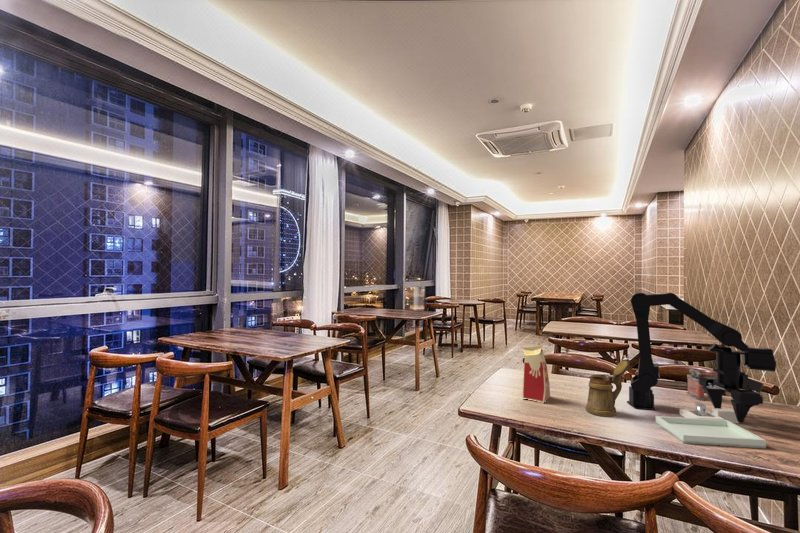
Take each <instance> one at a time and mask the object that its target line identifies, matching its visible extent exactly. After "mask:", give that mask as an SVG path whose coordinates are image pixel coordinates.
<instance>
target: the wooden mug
mask: <svg viewBox="0 0 800 533" xmlns="http://www.w3.org/2000/svg"><path fill="white" fill-rule="evenodd" d="M630 363H631V362H630V359H629V358H627V359H623V360H621V361H620V362H618V363H617V364H616V366H615V368H614V369H613V374H612V375H609V376H608V377H605V376H600V375H596V376H595V375H592V376H590V379H589V382H588V385H587V386H589V388H588V393H587V394H588V395H587V401H586V404H585V411H586V412H588V413H589V414H592V415H595V416H597V417H604V418H605V417H606V418H609V417H610V418H611V417H612V418H613V417H614V416H616V415H617V408H616V405H615V404H616V400H617V398H618V397H619V394H620V393H621V391H622V387H623V383H622V379H621V378H620V377H622V375H624V374H625V373H626V372H627V371H628V370H629V368H630V365H631V364H630ZM614 385H615V389H614ZM613 389H614V391H613Z"/></svg>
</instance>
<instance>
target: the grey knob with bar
mask: <svg viewBox="0 0 800 533" xmlns="http://www.w3.org/2000/svg"><path fill="white" fill-rule="evenodd" d="M694 405H695V409H696V415H697V416H706V410H707V405H705V404H704V403H702V402H701V401H694Z"/></svg>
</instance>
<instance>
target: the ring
mask: <svg viewBox="0 0 800 533" xmlns="http://www.w3.org/2000/svg"><path fill="white" fill-rule="evenodd" d="M679 415H680V416H681V417H682V418H699V419H716V420H728V421H730V422H732V423H734V424H740V423H739V422H738V421H737V418H736V415H735V412H734V409H733V408H721V409H720V408H714V407H712V408H711V411H710V410H708V409H706V416H697V415H696V408H685V407H684V408H682V407H681V408H679Z"/></svg>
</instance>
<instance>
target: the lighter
mask: <svg viewBox="0 0 800 533" xmlns="http://www.w3.org/2000/svg"><path fill="white" fill-rule="evenodd" d="M688 372H689V374H688V373H687V374H686V376H687V377H686V378H687V391H686V394H687V395H688V396H689V397H690V398H692V399H695V400H696V401H699V402H701V401H702V402H704V401H705V400H706V397H705V390H704V389H703V388H702V385H699V379H700V378H701V377H702V373H700V371H699V370H696V369H693V368H689V370H688Z"/></svg>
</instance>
